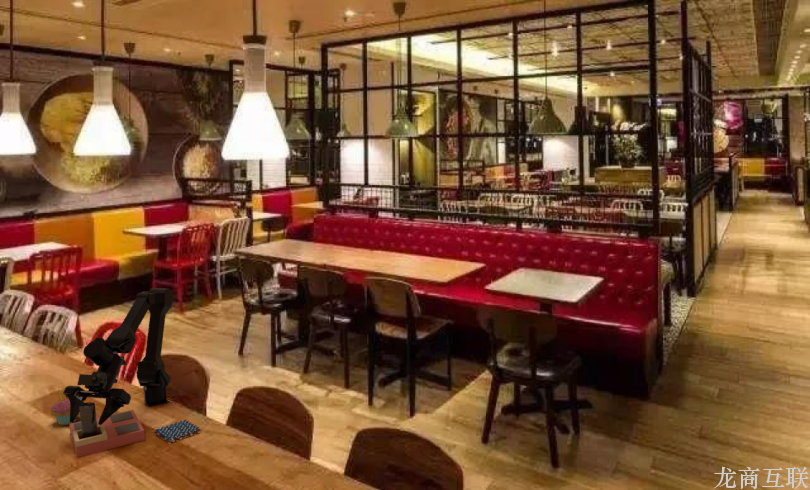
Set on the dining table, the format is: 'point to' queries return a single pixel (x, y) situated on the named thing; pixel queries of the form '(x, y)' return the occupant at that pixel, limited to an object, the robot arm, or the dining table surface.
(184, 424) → the woven mat
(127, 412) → the pink control box
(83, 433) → the stool leg
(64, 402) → the cupcake
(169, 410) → the dining table surface
